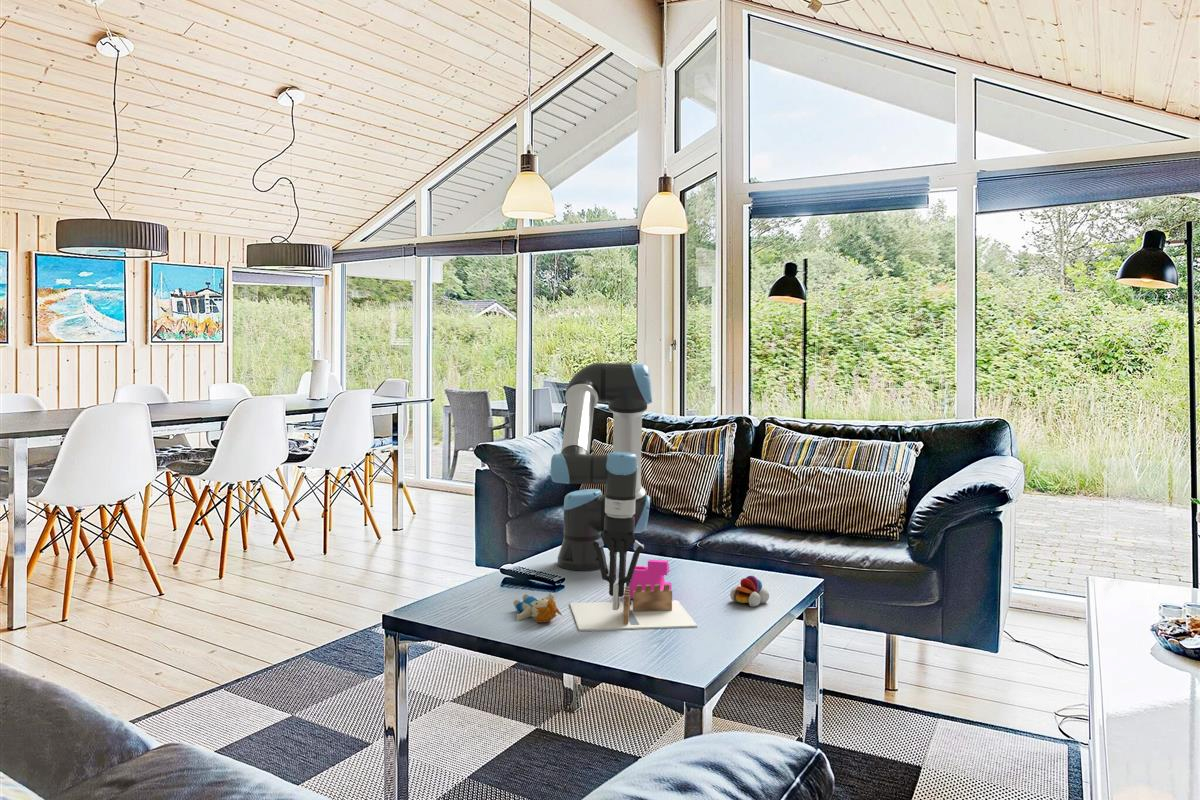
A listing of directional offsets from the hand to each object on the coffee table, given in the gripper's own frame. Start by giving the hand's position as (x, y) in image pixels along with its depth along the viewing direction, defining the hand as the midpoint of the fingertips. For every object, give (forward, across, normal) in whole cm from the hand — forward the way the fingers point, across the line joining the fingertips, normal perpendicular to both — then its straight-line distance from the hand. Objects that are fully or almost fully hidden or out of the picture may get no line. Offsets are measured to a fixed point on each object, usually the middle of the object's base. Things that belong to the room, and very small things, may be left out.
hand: (615, 608), depth 212 cm
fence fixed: (+3, +8, +10) cm, 13 cm away
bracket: (+3, +4, +25) cm, 25 cm away
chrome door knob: (+3, +2, +7) cm, 8 cm away
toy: (+4, -20, -2) cm, 20 cm away
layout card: (+3, +3, +5) cm, 7 cm away
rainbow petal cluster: (+3, +31, +25) cm, 40 cm away
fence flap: (+2, +2, +2) cm, 4 cm away
